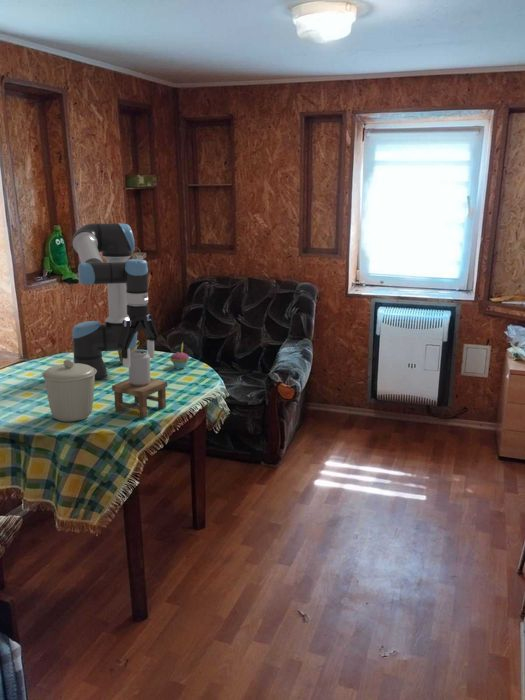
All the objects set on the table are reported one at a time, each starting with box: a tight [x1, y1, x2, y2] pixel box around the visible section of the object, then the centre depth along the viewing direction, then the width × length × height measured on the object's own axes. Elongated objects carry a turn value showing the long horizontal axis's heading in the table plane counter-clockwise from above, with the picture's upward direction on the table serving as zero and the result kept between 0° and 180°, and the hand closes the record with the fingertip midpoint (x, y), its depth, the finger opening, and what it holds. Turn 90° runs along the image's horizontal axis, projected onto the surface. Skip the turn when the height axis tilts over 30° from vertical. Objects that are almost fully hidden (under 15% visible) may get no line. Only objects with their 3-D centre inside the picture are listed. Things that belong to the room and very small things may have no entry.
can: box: [128, 349, 151, 386], centre depth 209 cm, size 8×8×12 cm
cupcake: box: [169, 342, 190, 369], centre depth 265 cm, size 9×8×12 cm
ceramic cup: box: [117, 339, 140, 364], centre depth 273 cm, size 13×10×10 cm
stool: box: [111, 377, 168, 419], centre depth 212 cm, size 14×14×10 cm
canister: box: [41, 358, 97, 423], centre depth 202 cm, size 18×18×21 cm
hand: (139, 362), depth 209 cm, fingers open, 13 cm apart
